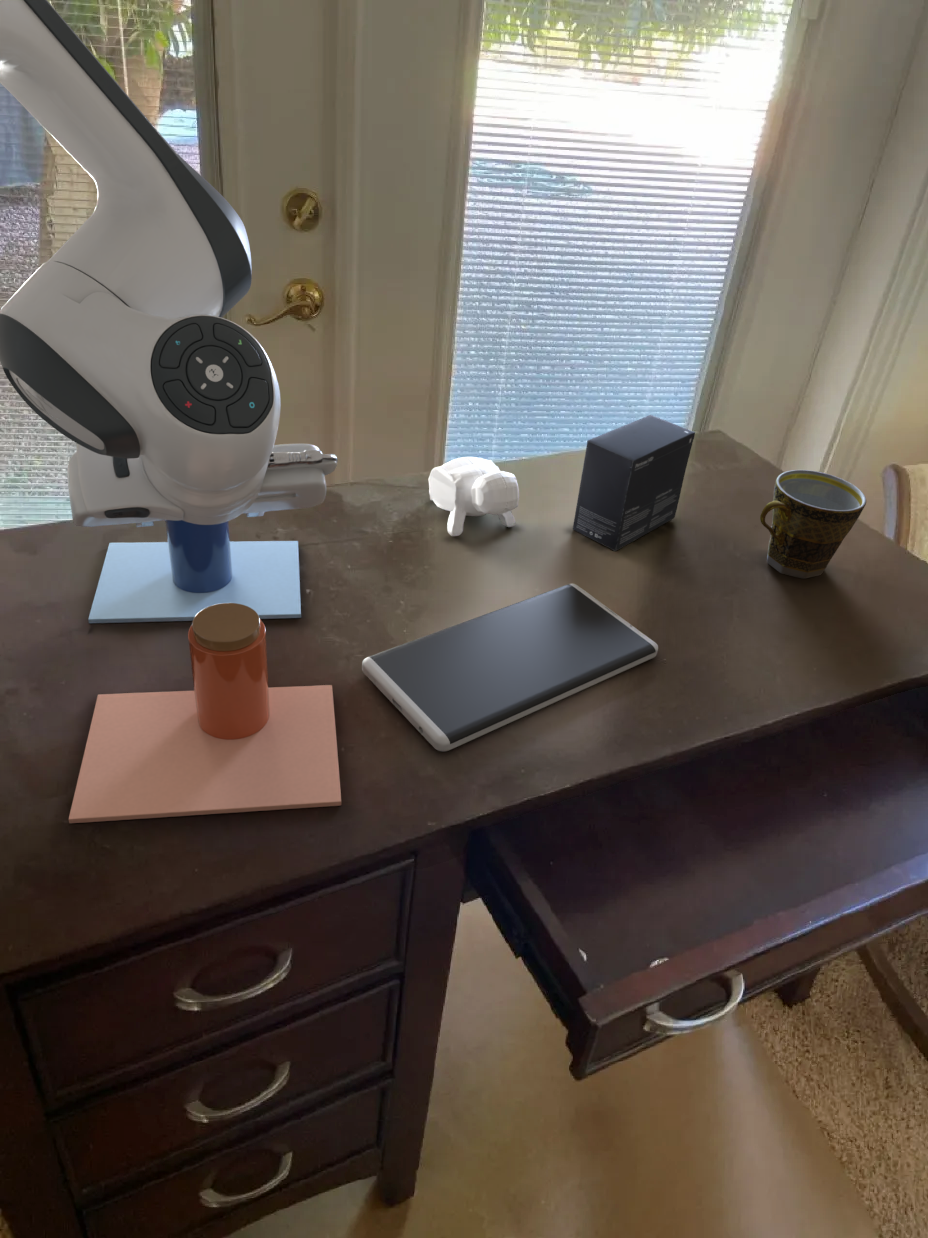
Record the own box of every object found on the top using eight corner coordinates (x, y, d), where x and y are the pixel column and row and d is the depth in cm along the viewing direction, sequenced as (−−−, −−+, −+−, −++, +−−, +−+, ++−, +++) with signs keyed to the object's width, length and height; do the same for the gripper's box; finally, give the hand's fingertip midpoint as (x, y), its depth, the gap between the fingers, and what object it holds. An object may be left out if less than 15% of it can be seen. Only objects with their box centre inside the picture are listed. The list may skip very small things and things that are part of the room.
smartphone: (357, 671, 83) (358, 657, 82) (570, 592, 97) (573, 579, 96) (439, 759, 75) (441, 744, 74) (659, 658, 89) (663, 645, 88)
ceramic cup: (796, 536, 112) (822, 464, 106) (854, 578, 105) (886, 504, 99) (715, 552, 107) (737, 478, 101) (771, 598, 100) (798, 520, 94)
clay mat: (69, 824, 66) (68, 819, 65) (98, 698, 77) (97, 694, 76) (341, 805, 69) (341, 801, 69) (332, 688, 81) (332, 684, 80)
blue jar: (169, 594, 89) (158, 506, 83) (174, 561, 94) (165, 476, 88) (231, 592, 90) (224, 506, 84) (233, 560, 95) (227, 476, 89)
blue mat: (88, 623, 85) (87, 619, 85) (110, 546, 96) (109, 542, 96) (301, 618, 89) (301, 614, 88) (298, 544, 100) (298, 540, 99)
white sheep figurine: (422, 526, 111) (475, 544, 98) (416, 458, 109) (470, 467, 96) (482, 517, 115) (542, 533, 102) (478, 450, 112) (538, 458, 99)
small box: (631, 498, 116) (651, 412, 109) (675, 519, 113) (698, 431, 106) (569, 529, 108) (586, 438, 101) (614, 552, 105) (635, 460, 98)
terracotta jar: (195, 742, 73) (183, 646, 67) (199, 693, 78) (189, 600, 72) (269, 738, 74) (264, 643, 68) (269, 690, 79) (265, 598, 73)
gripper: (335, 414, 70) (310, 470, 83) (52, 429, 63) (73, 487, 76) (348, 491, 69) (320, 535, 82) (63, 515, 62) (82, 559, 75)
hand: (199, 512), depth 79 cm, fingers open, 8 cm apart
